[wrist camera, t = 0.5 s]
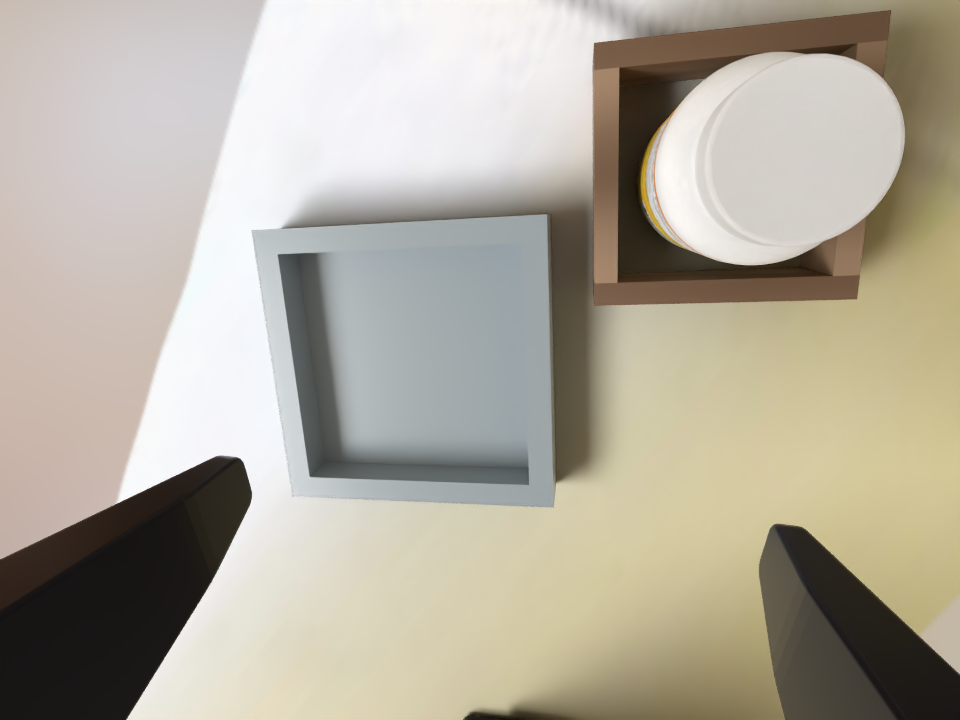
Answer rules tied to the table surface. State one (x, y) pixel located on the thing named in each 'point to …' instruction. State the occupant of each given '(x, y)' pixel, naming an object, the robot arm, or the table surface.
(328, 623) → the table surface
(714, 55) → the brown wooden open box
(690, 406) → the table surface
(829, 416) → the table surface
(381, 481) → the parts tray
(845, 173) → the supplement bottle
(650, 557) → the table surface
